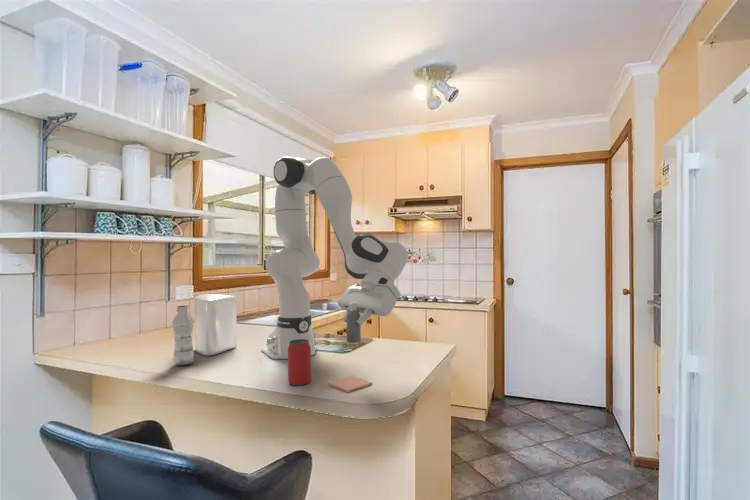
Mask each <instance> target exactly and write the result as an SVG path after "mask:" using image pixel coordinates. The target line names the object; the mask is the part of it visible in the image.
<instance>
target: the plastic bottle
mask: <svg viewBox="0 0 750 500" xmlns="http://www.w3.org/2000/svg"><path fill="white" fill-rule="evenodd" d="M189 311H190V306H189V305H184V304H183V305H177V306H176V313H177V314H176V315H175V316H174V318H173V320H172V329H173V330H172V331H173V335H174V350H173V351H174V352H173V355H172V359H173V363H174V365H175V366H186V365H191V364H192V363H193V362H194V361H195V352H194V351H195V350H194V347H193V328H194V327H193V326H194V320H193V317H192V315H191V314H190V313H189Z"/></svg>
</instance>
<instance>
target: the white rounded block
mask: <svg viewBox="0 0 750 500" xmlns="http://www.w3.org/2000/svg"><path fill="white" fill-rule="evenodd" d="M193 303H194V340H195V341H194V344H195V346H194V349H195V350H194V351H196V352H197V353H198V354H201V355H203V356H208V357H209V356H213V355H217V354H221V353H224V352H226V351H228V350H231V349H234V348H236V347H237V346H238V338H237V335H238V333H237V330H238V329H237V326H238V325H237V296H236V295H230V294H224V293H223V294H222V293H220V294H219V293H204V294H200V295H196V296H195V297H194V302H193Z"/></svg>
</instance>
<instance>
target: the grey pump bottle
mask: <svg viewBox="0 0 750 500" xmlns="http://www.w3.org/2000/svg"><path fill="white" fill-rule="evenodd" d="M360 316H361V314H360V312H358V311H357V303H350V311H349V312H348V313H347V323H346V342H347V343H360V342H361V341H362V340H361V339H362V333H361V332H362V331H361V327H362V325H357V323H355V320H356V319H357V317H360Z"/></svg>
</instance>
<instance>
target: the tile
mask: <svg viewBox="0 0 750 500" xmlns="http://www.w3.org/2000/svg"><path fill="white" fill-rule="evenodd" d="M372 385H373V382H372V381H369V380H366V379H363V378H361V377H357V376H355V375H349V376H345V377H343V378H339V379H335V380H332V381H328V382H327V386H329V387H332V388H335V389H337V390H340V391H341V392H342V391H343V392H345V393H351V392H354V391H357V390H360V389H363V388H366V387H369V386H372Z"/></svg>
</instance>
